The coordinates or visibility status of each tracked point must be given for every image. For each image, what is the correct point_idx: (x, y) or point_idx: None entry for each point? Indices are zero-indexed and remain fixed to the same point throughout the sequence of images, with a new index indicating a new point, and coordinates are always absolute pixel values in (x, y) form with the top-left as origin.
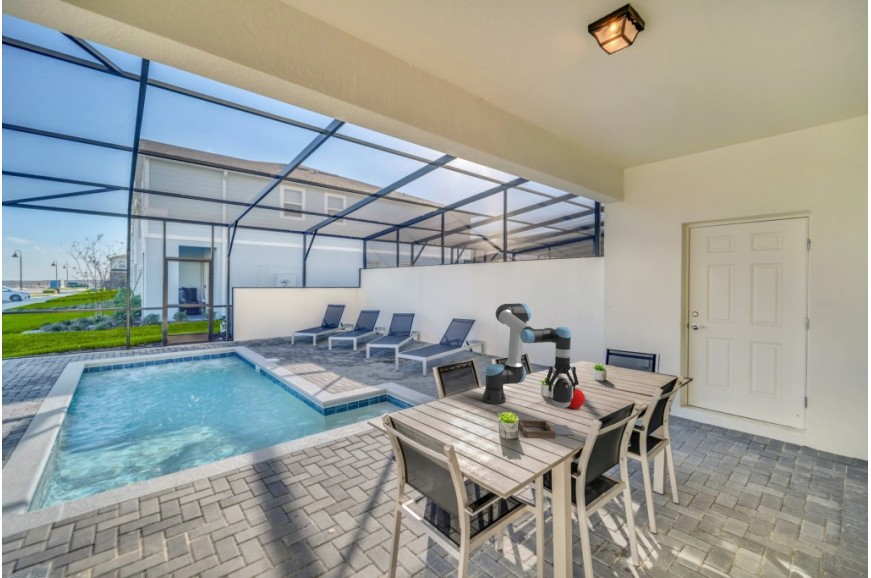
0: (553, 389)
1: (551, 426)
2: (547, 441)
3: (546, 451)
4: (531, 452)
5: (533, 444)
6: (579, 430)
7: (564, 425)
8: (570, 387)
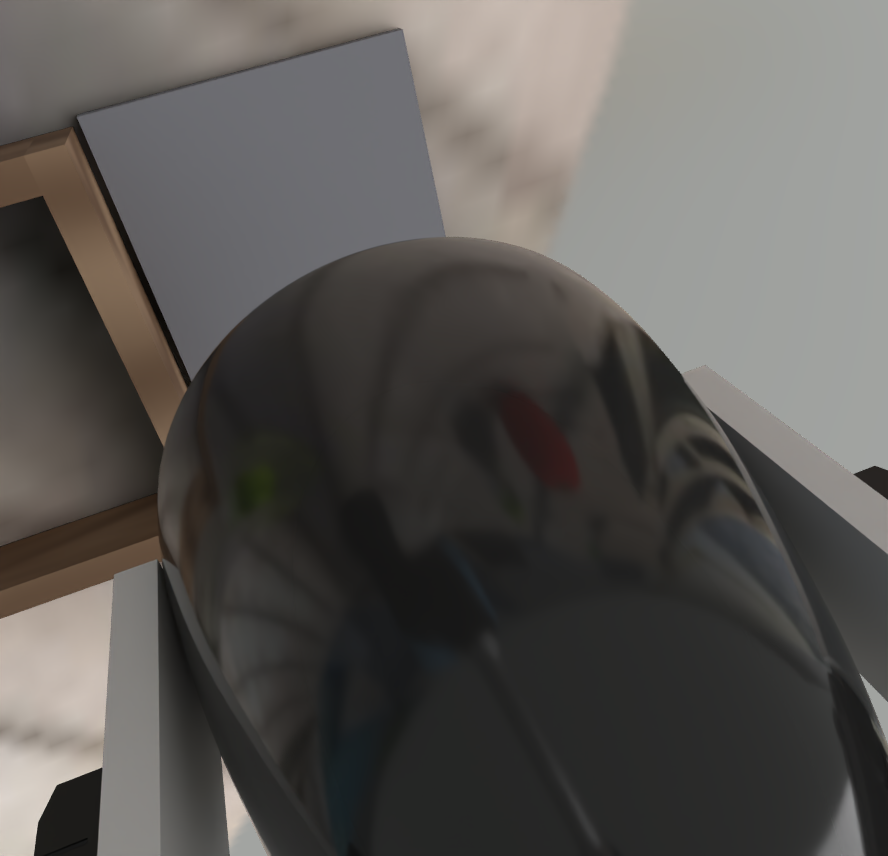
0: (236, 788)
1: (163, 167)
2: None
3: None
4: (25, 840)
5: (7, 714)
6: (553, 150)
7: (369, 54)
8: (870, 581)
